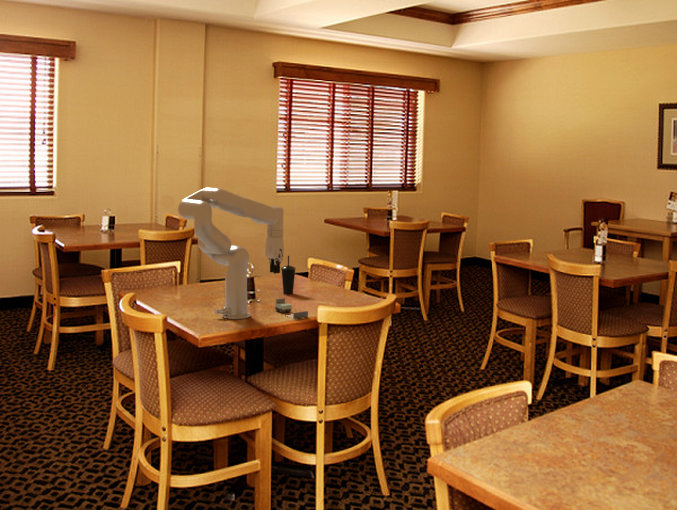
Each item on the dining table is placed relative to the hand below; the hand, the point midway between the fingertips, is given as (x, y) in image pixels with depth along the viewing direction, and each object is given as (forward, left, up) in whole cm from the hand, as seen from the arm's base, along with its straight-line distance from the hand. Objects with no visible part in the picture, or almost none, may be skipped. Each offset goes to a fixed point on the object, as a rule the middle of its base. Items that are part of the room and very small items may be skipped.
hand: (274, 272), depth 322 cm
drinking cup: (+23, +25, -17) cm, 38 cm away
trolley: (0, -8, -17) cm, 19 cm away
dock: (0, -19, -17) cm, 26 cm away
